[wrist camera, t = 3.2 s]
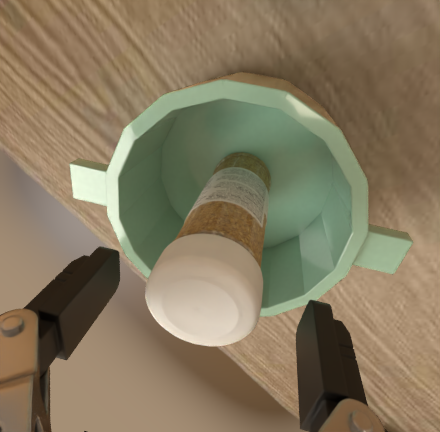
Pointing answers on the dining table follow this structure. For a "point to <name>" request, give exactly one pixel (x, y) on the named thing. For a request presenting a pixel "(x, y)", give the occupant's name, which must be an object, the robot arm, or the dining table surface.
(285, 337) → the dining table surface
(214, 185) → the spice jar
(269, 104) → the pot
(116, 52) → the dining table surface
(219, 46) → the dining table surface
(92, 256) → the robot arm
